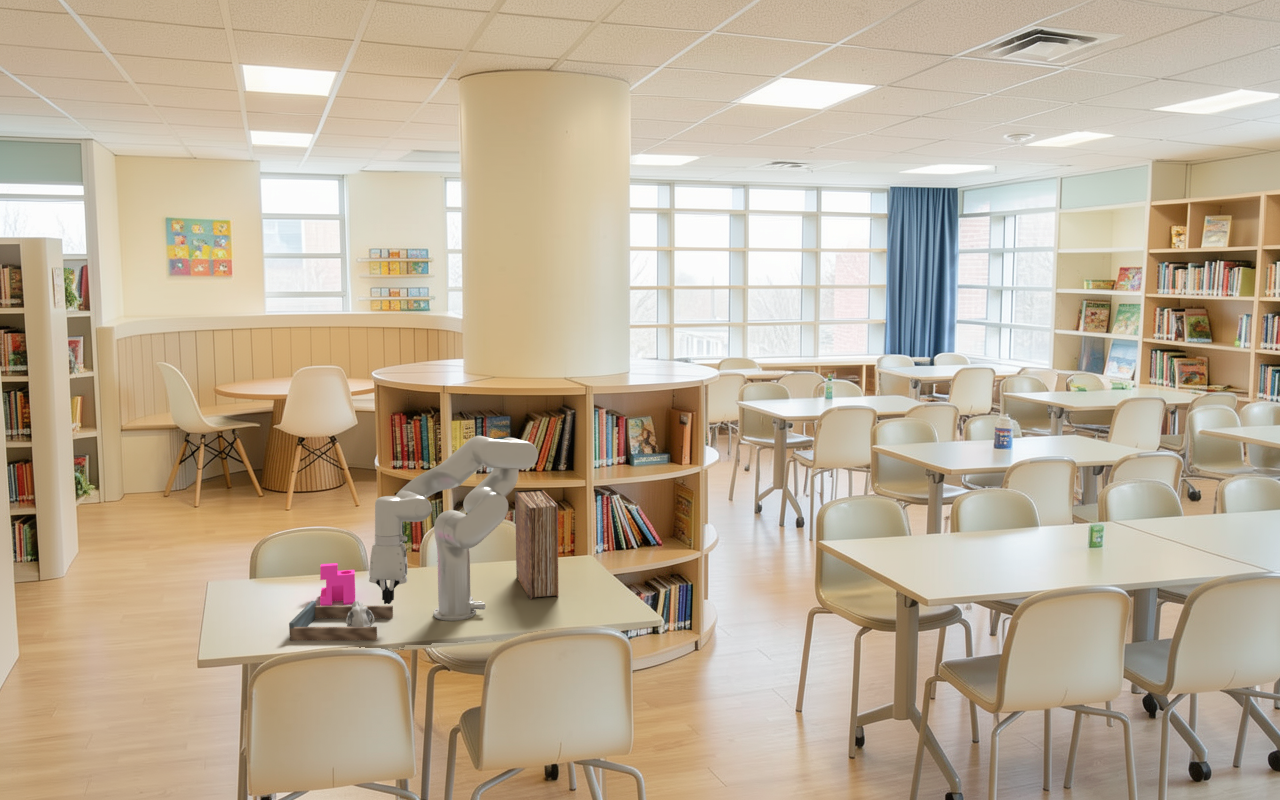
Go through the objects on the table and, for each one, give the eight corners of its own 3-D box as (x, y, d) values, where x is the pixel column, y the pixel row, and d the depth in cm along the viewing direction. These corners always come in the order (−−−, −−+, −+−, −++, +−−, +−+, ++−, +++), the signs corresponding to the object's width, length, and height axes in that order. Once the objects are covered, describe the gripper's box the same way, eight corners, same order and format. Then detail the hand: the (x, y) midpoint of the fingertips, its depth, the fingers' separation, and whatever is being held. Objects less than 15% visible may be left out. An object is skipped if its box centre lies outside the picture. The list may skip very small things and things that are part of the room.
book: (558, 597, 308) (557, 504, 305) (529, 600, 306) (528, 506, 302) (542, 575, 332) (542, 489, 329) (516, 577, 330) (515, 490, 326)
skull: (347, 629, 272) (342, 592, 279) (348, 644, 278) (343, 607, 285) (375, 624, 274) (370, 587, 281) (376, 639, 281) (370, 603, 288)
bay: (393, 617, 290) (392, 600, 289) (376, 640, 270) (375, 623, 270) (312, 617, 289) (311, 600, 289) (289, 640, 270) (289, 623, 270)
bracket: (321, 595, 310) (320, 564, 309) (355, 592, 313) (354, 561, 312) (320, 607, 299) (319, 574, 298) (355, 604, 302) (354, 572, 300)
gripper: (417, 537, 281) (417, 599, 282) (365, 536, 281) (365, 598, 282) (411, 543, 273) (411, 607, 275) (358, 542, 273) (358, 605, 275)
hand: (388, 602), depth 279 cm, fingers closed
